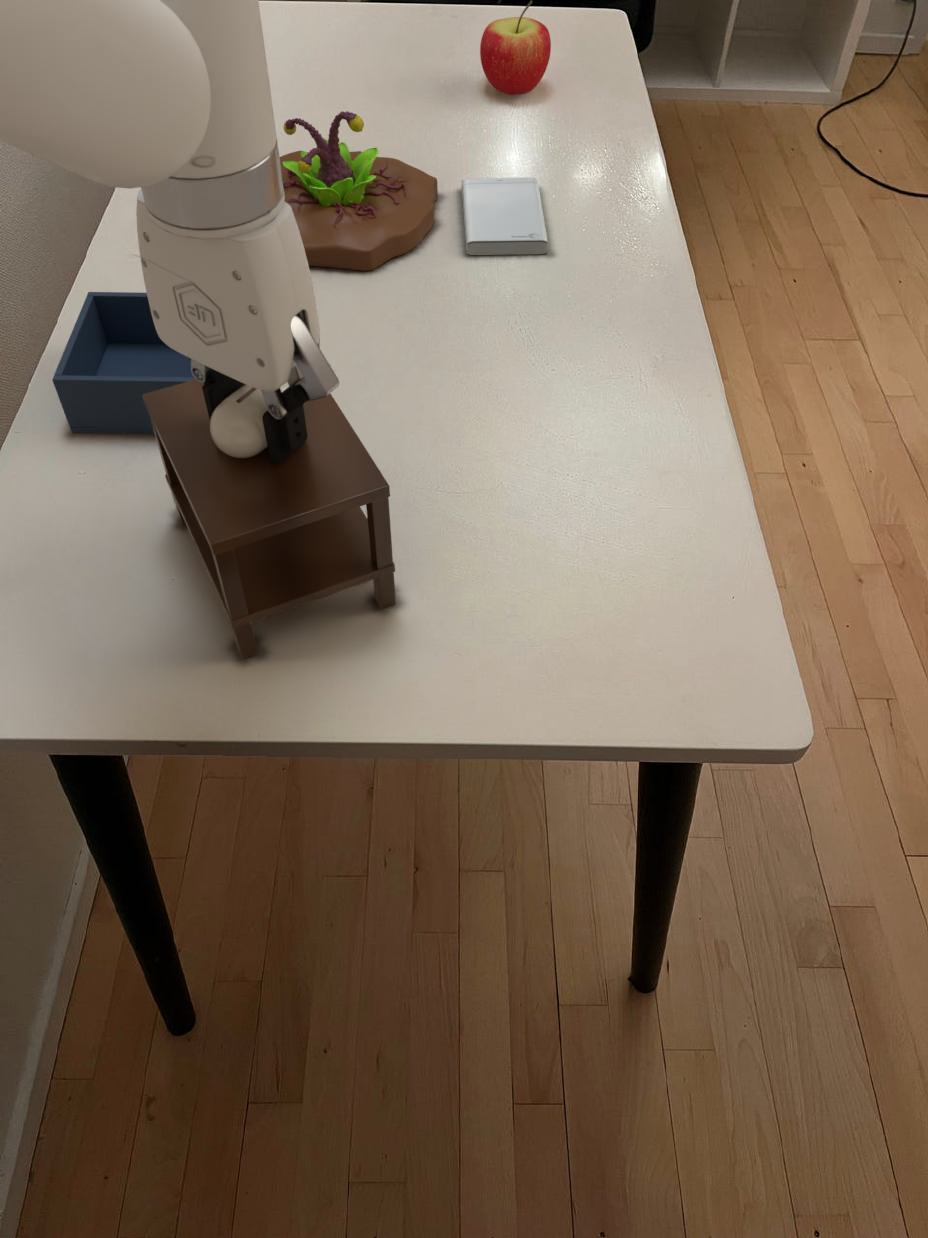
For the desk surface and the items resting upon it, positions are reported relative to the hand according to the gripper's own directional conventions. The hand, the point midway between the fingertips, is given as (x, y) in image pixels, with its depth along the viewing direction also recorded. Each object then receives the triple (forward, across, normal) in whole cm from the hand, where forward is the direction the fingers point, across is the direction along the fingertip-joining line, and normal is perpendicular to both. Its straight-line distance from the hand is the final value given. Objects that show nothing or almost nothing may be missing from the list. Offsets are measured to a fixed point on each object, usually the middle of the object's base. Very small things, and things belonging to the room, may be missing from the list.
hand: (259, 434), depth 71 cm
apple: (+13, -27, +76) cm, 81 cm away
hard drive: (+13, -12, +50) cm, 52 cm away
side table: (+12, 0, 0) cm, 12 cm away
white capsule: (0, 0, 0) cm, 0 cm away
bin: (+12, -22, +9) cm, 27 cm away
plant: (+13, -26, +41) cm, 50 cm away
